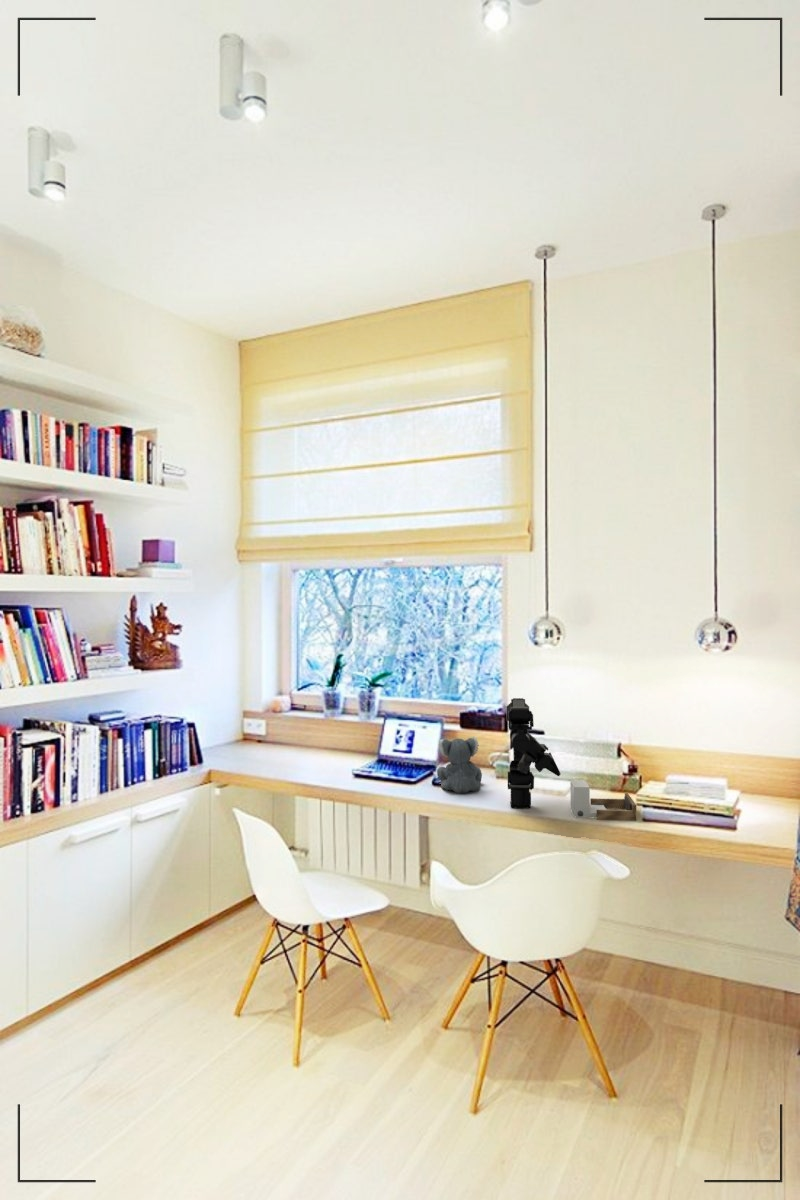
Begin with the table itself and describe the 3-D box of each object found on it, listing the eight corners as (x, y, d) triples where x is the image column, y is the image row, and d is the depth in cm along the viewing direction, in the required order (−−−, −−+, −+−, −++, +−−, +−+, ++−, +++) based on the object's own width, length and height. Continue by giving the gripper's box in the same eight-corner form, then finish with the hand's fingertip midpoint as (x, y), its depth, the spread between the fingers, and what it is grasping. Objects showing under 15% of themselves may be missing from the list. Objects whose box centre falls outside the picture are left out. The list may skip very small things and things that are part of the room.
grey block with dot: (574, 817, 249) (574, 787, 249) (570, 808, 259) (570, 779, 259) (608, 818, 248) (608, 787, 248) (603, 809, 258) (603, 780, 258)
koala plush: (481, 782, 296) (480, 732, 295) (485, 794, 278) (485, 741, 277) (436, 782, 296) (436, 732, 296) (438, 795, 278) (437, 741, 278)
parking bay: (597, 819, 246) (596, 804, 246) (590, 807, 260) (590, 792, 260) (636, 820, 245) (636, 805, 245) (627, 807, 259) (627, 793, 259)
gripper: (508, 752, 265) (540, 784, 264) (510, 765, 247) (545, 799, 246) (530, 730, 264) (563, 762, 263) (534, 741, 246) (569, 775, 245)
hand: (559, 775), depth 254 cm, fingers closed
